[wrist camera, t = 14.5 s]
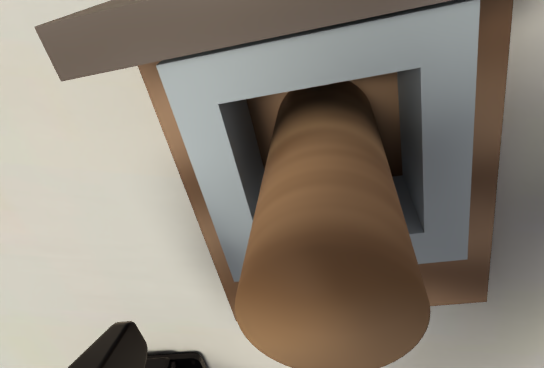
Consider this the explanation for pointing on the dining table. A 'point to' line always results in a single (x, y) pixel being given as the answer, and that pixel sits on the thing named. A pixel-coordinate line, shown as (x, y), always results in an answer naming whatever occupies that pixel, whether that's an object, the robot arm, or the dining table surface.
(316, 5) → the base board
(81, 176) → the dining table surface
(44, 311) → the dining table surface
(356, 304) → the dowel
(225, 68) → the sliding block
